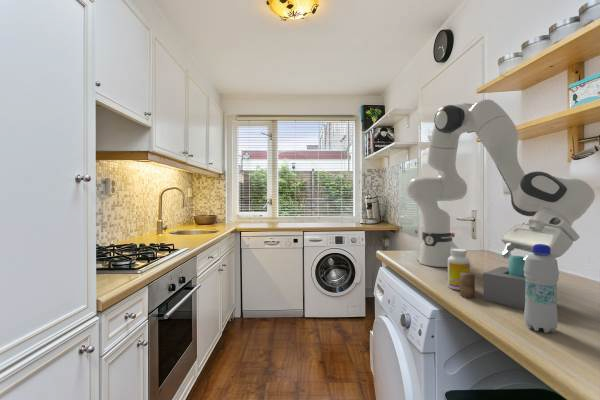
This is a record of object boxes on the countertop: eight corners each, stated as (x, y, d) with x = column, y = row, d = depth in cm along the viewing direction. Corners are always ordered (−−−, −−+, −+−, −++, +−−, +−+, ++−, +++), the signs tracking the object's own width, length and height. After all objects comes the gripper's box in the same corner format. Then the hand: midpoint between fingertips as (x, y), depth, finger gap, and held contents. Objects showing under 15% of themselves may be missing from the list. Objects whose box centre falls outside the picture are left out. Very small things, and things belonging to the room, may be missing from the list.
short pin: (463, 293, 103) (464, 271, 103) (477, 296, 100) (477, 273, 100) (457, 295, 101) (457, 273, 101) (470, 299, 98) (471, 276, 97)
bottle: (563, 330, 76) (563, 244, 75) (552, 337, 72) (553, 247, 71) (529, 321, 81) (530, 241, 80) (518, 327, 77) (518, 243, 77)
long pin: (511, 297, 99) (512, 255, 98) (527, 301, 96) (527, 257, 95) (506, 300, 96) (506, 256, 96) (522, 304, 93) (522, 258, 93)
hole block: (501, 291, 105) (501, 266, 105) (550, 301, 95) (550, 274, 95) (483, 299, 97) (483, 273, 97) (534, 312, 87) (535, 282, 87)
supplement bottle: (472, 291, 105) (472, 251, 105) (450, 290, 106) (450, 251, 106) (466, 285, 112) (466, 248, 111) (445, 284, 113) (445, 247, 113)
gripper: (514, 216, 106) (485, 246, 106) (569, 221, 86) (533, 259, 85) (528, 229, 106) (498, 259, 106) (585, 238, 86) (549, 275, 86)
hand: (514, 259), depth 96 cm, fingers open, 8 cm apart
